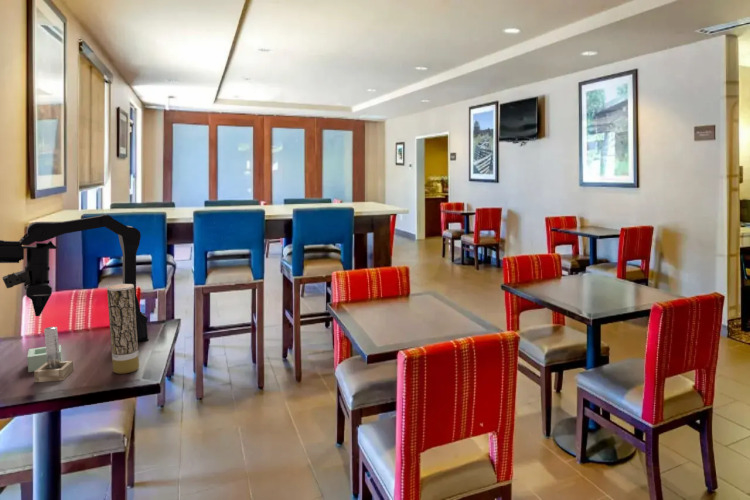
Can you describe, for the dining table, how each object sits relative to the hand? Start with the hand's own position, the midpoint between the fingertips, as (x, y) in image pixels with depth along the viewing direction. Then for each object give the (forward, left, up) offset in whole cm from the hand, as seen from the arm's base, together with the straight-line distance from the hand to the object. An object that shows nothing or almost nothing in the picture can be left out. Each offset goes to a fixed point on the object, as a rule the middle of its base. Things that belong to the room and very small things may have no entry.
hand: (36, 312), depth 147 cm
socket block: (-2, +9, -14) cm, 17 cm away
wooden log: (-22, +26, -14) cm, 37 cm away
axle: (-4, +21, -14) cm, 25 cm away
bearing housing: (-4, +21, -14) cm, 25 cm away
